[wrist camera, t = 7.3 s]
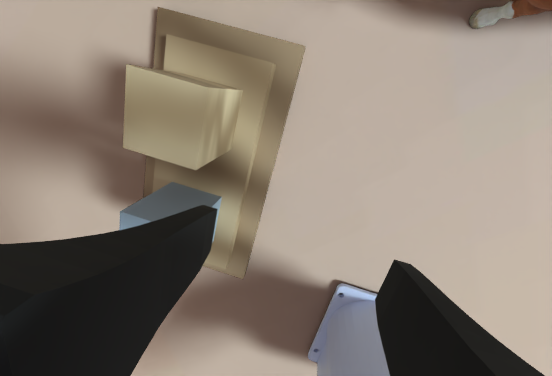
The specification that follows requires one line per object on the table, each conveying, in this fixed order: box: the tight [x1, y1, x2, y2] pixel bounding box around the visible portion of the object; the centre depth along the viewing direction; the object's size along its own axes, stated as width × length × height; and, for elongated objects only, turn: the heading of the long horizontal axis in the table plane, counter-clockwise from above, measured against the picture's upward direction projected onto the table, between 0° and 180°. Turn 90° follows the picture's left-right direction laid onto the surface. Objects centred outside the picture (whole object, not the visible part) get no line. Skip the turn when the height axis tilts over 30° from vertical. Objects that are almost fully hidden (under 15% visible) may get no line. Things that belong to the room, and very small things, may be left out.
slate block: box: [120, 182, 222, 242], centre depth 18 cm, size 4×4×6 cm
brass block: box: [123, 64, 243, 170], centre depth 15 cm, size 4×4×6 cm
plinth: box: [143, 7, 305, 279], centre depth 20 cm, size 19×10×2 cm, turn 165°
